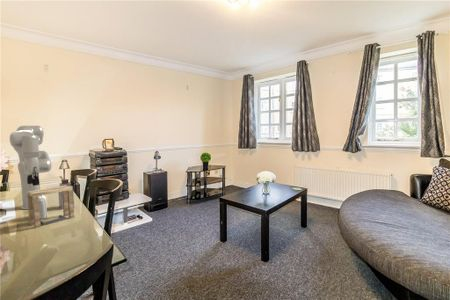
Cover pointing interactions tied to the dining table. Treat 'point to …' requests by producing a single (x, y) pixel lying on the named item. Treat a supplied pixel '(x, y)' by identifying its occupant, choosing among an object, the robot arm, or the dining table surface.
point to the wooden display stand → (33, 195)
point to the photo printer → (42, 206)
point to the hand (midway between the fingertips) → (33, 184)
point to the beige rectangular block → (64, 182)
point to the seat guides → (53, 220)
